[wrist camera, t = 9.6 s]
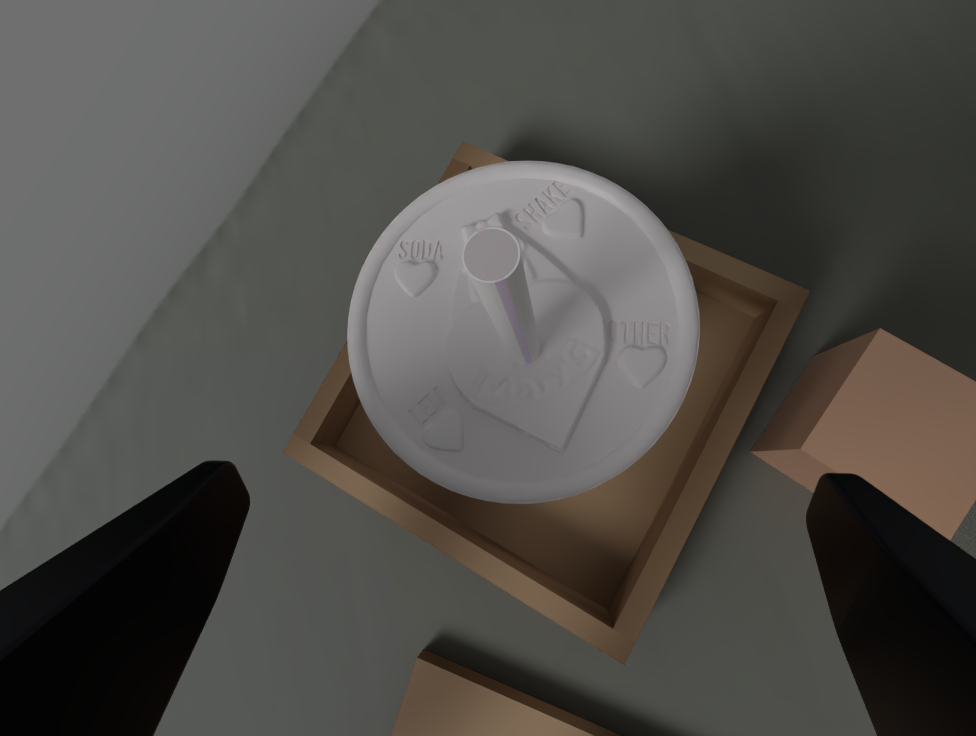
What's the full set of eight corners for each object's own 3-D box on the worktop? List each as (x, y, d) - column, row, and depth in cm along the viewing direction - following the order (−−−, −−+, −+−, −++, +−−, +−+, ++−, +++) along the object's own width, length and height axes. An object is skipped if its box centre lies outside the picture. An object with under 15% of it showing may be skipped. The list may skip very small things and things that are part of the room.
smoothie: (483, 508, 18) (242, 647, 5) (430, 339, 20) (122, 60, 6) (661, 449, 18) (980, 408, 4) (594, 280, 19) (667, -173, 5)
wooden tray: (778, 313, 18) (810, 290, 16) (615, 636, 17) (624, 665, 15) (474, 178, 21) (462, 141, 19) (316, 453, 20) (282, 452, 18)
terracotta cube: (948, 543, 13) (861, 524, 17) (1030, 412, 13) (926, 423, 17) (800, 449, 14) (748, 451, 18) (879, 328, 14) (812, 356, 18)
